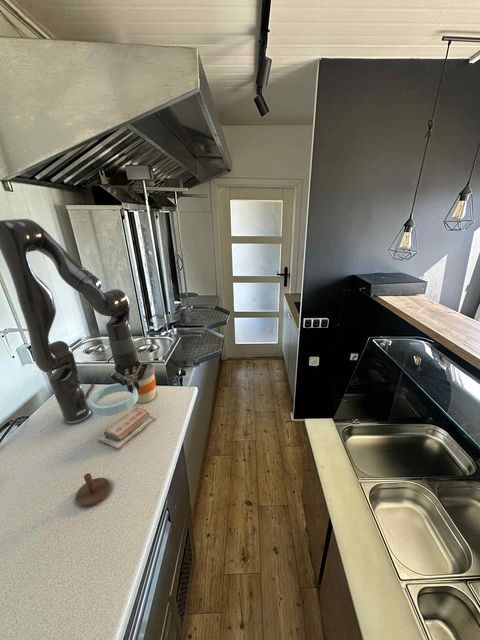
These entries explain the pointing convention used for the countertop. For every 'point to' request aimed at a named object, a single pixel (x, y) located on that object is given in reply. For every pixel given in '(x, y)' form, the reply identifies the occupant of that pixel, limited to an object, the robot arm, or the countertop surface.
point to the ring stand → (92, 491)
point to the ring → (117, 407)
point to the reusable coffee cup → (146, 384)
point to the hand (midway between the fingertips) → (134, 391)
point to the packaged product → (126, 427)
